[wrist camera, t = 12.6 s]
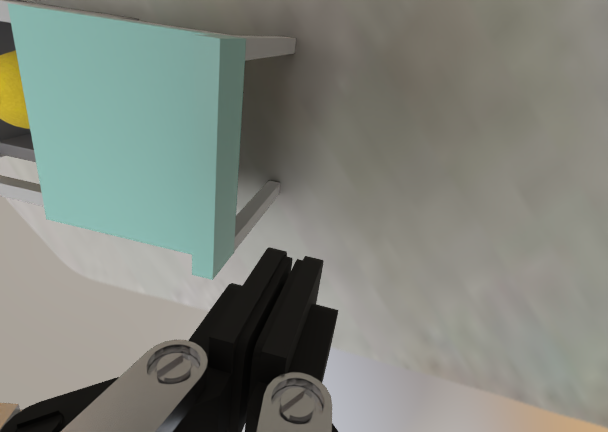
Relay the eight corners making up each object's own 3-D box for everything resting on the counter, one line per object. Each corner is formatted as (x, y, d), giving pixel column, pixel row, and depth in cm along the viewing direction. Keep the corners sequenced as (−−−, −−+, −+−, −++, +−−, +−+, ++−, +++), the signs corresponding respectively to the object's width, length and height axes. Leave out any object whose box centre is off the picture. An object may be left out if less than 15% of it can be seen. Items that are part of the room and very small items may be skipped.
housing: (8, -5, 31) (-150, -23, 22) (296, 38, 28) (246, 38, 19) (34, 142, 36) (-85, 176, 27) (279, 193, 33) (233, 251, 24)
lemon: (84, 131, 34) (1, 155, 27) (37, 77, 33) (-63, 88, 26) (121, 91, 32) (40, 107, 25) (71, 32, 31) (-29, 30, 23)
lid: (27, 5, 20) (-29, 0, 18) (246, 38, 19) (220, 38, 16) (61, 211, 26) (21, 231, 23) (233, 252, 24) (212, 279, 21)
